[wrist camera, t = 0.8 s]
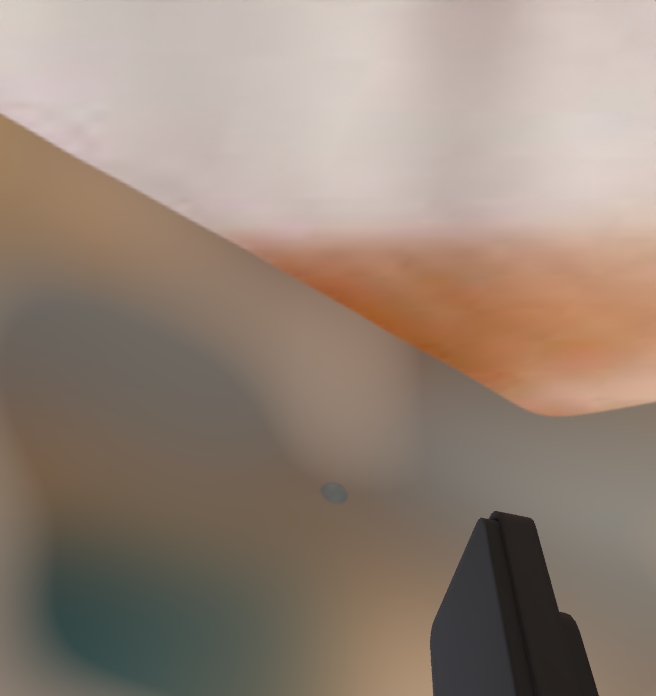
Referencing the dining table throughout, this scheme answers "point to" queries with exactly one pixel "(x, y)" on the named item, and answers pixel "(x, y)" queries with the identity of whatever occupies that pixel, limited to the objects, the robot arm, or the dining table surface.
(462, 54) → the dining table surface
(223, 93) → the dining table surface
